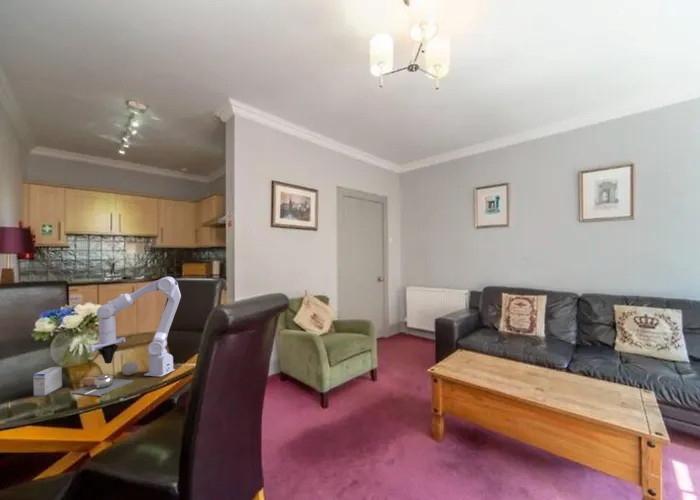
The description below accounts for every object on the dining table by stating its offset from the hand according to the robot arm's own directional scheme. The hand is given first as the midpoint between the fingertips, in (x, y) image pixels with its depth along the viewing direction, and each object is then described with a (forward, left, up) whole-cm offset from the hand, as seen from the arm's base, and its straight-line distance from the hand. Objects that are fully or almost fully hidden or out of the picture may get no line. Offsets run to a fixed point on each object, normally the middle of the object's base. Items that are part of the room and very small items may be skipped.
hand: (108, 362), depth 134 cm
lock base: (-5, +6, -8) cm, 11 cm away
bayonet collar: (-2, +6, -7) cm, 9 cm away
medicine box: (+15, +13, -8) cm, 21 cm away
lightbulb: (+4, -11, -6) cm, 13 cm away
